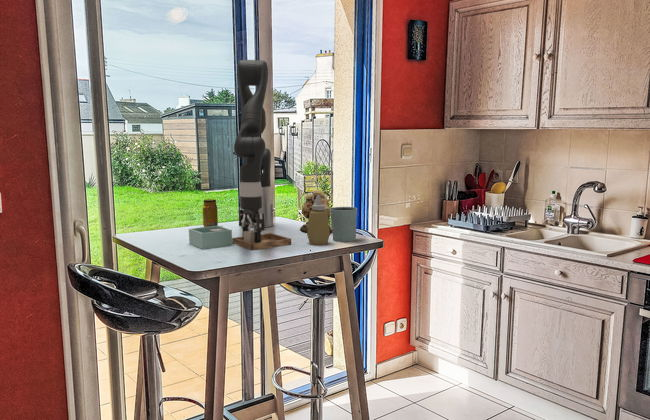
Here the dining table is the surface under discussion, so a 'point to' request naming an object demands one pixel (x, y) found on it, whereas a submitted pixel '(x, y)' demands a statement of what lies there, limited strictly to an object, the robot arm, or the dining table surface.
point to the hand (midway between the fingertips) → (251, 240)
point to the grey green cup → (344, 223)
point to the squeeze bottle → (318, 224)
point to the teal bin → (210, 237)
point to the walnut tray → (263, 242)
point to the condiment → (210, 213)
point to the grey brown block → (215, 230)
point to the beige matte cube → (249, 236)
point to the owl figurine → (308, 207)
